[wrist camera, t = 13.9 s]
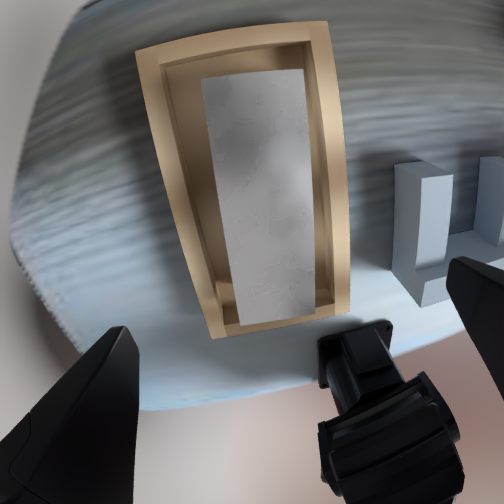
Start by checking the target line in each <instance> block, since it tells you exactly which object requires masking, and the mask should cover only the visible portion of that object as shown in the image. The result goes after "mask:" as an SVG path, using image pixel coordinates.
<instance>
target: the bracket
mask: <svg viewBox="0 0 504 504" xmlns="http://www.w3.org/2000/svg"><path fill="white" fill-rule="evenodd" d="M394 171H395V207H394V237H393V255H392V268H391V272H392V273H393V274H394V275H395V277H396V278H397V279H398V280H399V281H400V283H401V284H402V285H403V286H404V288H405V289H406V290H407V291H408V293H409V294H410V295H411V297H412V298H413V299H414V300H415V302H416V303H417V304H418V305H419V307H420V308H422V307H425V306H428V305H432V304H435V303H438V302H441V301H444V300H447V299H450V296H449V294H448V292H447V289H446V278H447V273H448V267H449V262H450V260H451V259H452V258H455V257H459V256H465V257H468V258H471V259H474V260H477V261H480V262H483V263H485V264H488V265H491V266H494V267H497V268H499V269H502V270H504V158H502V157H500V156H488V157H480V167H479V182H478V194H477V203H476V212H475V220H474V227H473V230H469V231H464V232H460V233H456V234H451V235H448V231H449V223H450V213H451V202H452V188H453V174H451V173H449V172H447V171H445V170H442V169H440V168H438V167H436V166H434V165H432V164H429V163H427V162H425V161H420V162H410V163H400V164H394Z"/></svg>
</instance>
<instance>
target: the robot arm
mask: <svg viewBox="0 0 504 504" xmlns="http://www.w3.org/2000/svg"><path fill="white" fill-rule="evenodd" d="M446 289H447V292H448V294H449V296H450V298H451V300H452V302H453V304H454V306H455V308H456V310H457V312H458V314H459V316H460V318H461V320H462V322H463V324H464V326H465V328H466V330H467V332H468V334H469V336H470V337H471V339H472V341H473V342H474V344H475V346H476V348H477V350H478V351H479V353H480V355H481V357H482V359H483V361H484V362H485V364H486V366H487V368H488V370H489V372H490V374H491V376H492V378H493V380H494V382H495V384H496V386H497V388H498V390H499V392H500V394H501V396H502V398H503V400H504V270H502V269H499V268H497V267H494V266H491V265H488V264H485V263H483V262H480V261H477V260H474V259H471V258H468V257H465V256H459V257H455V258H452V259H451V260H450V262H449V267H448V273H447V278H446ZM392 331H393V325H392V323H391V322H390V321H385V322H381V323H378V324H374V325H371V326H367V327H363V328H359V329H355V330H351V331H347V332H343V333H339V334H335V335H331V336H327V337H323V338H320V339H319V340H318V342H317V352H318V384H319V387H320V388H321V389H325V388H329V387H330V389H331V392H332V395H333V398H334V402H335V405H336V408H337V411H338V414H339V416H337V417H335V418H333V419H330V420H328V421H326V422H325V421H323V422H321V423H318V430H319V432H318V441H319V450H320V459H321V479H322V481H323V482H325V483H327V484H329V486H330V487H331V489H332V491H333V492H334V493H335V495H336V496H338V497H341V496H343V497H344V500H345V502H346V504H454V503H455V499H456V496H457V494H459V493H461V492H462V490H463V484H464V478H465V475H464V472H463V466H462V463H461V460H460V458H459V455H458V452H457V449H456V447H455V444H454V443H456V442H457V441H459V440H460V433H459V429H458V426H457V423H456V421H455V419H454V416H453V414H452V412H451V410H450V408H449V407H448V405H447V403H446V402H445V400H444V399H443V397H442V396H441V395H440V393H439V392H438V391H437V389H436V387H435V386H434V385H433V383H432V382H431V380H430V379H429V378H428V376H427V375H426V373H425V372H424V371H422V372H420V373H419V374H417V376H416V377H414V378H412V379H411V380H409V381H407V382H405V380H404V378H403V376H402V374H401V372H400V371H399V369H398V367H397V365H396V363H395V361H394V359H393V358H392V356H391V354H390V352H389V348H390V342H391V337H392ZM323 343H324V344H323ZM139 357H140V356H139V350H138V347H137V345H136V343H135V341H134V339H133V338H132V336H131V334H130V332H129V330H128V328H127V327H125V326H116V327H111V328H110V329H109V330H108V331H107V332H106V333H105V334H104V335H103V336H102V337H101V338H100V339H99V340H98V341H97V342H96V343H95V344H94V345H93V346H92V347H91V348H90V349H89V350H88V351H87V352H86V353H85V354H84V355H83V356H82V357H81V358H80V359H79V360H78V361H77V362H76V363H75V364H74V365H73V366H72V367H71V368H70V369H69V370H68V371H67V372H66V373H65V374H64V375H63V376H62V377H61V378H60V379H59V380H58V381H57V382H56V384H55V385H54V386H53V387H52V388H51V389H50V390H49V391H48V392H47V393H46V394H45V395H44V396H43V397H42V398H41V399H40V400H39V402H38V403H37V404H36V405H35V406H34V407H33V408H32V409H31V410H30V412H28V413H27V414H26V415H25V417H24V418H23V419H22V420H21V421H20V422H19V423H18V424H17V425H16V426H15V427H14V428H13V430H11V432H10V433H9V434H8V435H6V437H4V439H2V440H1V441H0V504H133V488H134V465H135V448H136V435H137V424H138V412H139Z"/></svg>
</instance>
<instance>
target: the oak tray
mask: <svg viewBox="0 0 504 504" xmlns="http://www.w3.org/2000/svg"><path fill="white" fill-rule="evenodd" d="M135 55H136V60H137V66H138V71H139V76H140V81H141V86H142V91H143V96H144V100H145V105H146V109H147V114H148V118H149V123H150V127H151V132H152V136H153V140H154V144H155V148H156V153H157V157H158V161H159V165H160V169H161V173H162V176H163V180H164V184H165V188H166V192H167V195H168V199H169V203H170V206H171V210H172V214H173V217H174V221H175V224H176V228H177V231H178V235H179V238H180V242H181V245H182V248H183V252H184V255H185V258H186V262H187V265H188V268H189V271H190V275H191V278H192V281H193V284H194V287H195V291H196V294H197V297H198V300H199V303H200V306H201V309H202V312H203V315H204V318H205V321H206V324H207V327H208V330H209V333H210V336H211V338H212V339H218V338H224V337H230V336H236V335H242V334H247V333H253V332H258V331H264V330H269V329H274V328H279V327H284V326H289V325H294V324H299V323H303V322H308V321H313V320H317V319H322V318H326V317H331V316H335V315H339V314H343V313H347V312H350V227H349V202H348V183H347V168H346V155H345V144H344V133H343V124H342V115H341V106H340V98H339V90H338V83H337V76H336V69H335V63H334V57H333V51H332V45H331V39H330V34H329V28H328V23H327V21H309V22H289V23H276V24H266V25H257V26H249V27H241V28H234V29H228V30H222V31H216V32H211V33H206V34H201V35H196V36H191V37H187V38H182V39H178V40H174V41H170V42H166V43H162V44H159V45H155V46H151V47H148V48H145V49H141V50H138V51H135ZM291 69H303V73H304V83H305V93H306V104H307V115H308V127H309V140H310V155H311V171H312V190H313V213H314V245H315V314H312V315H307V316H301V317H295V318H289V319H283V320H276V321H270V322H263V323H257V324H250V325H243V326H240V321H239V315H238V310H237V304H236V299H235V293H234V288H233V282H232V276H231V271H230V265H229V259H228V253H227V247H226V242H225V236H224V230H223V224H222V218H221V212H220V205H219V199H218V193H217V187H216V180H215V174H214V168H213V161H212V155H211V148H210V141H209V135H208V128H207V121H206V114H205V107H204V100H203V93H202V86H201V79H205V78H211V77H218V76H225V75H233V74H241V73H251V72H262V71H274V70H291Z"/></svg>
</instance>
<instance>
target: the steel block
mask: <svg viewBox="0 0 504 504" xmlns="http://www.w3.org/2000/svg"><path fill="white" fill-rule="evenodd" d="M201 86H202V93H203V100H204V107H205V114H206V121H207V128H208V135H209V141H210V148H211V155H212V161H213V168H214V174H215V180H216V187H217V193H218V199H219V205H220V212H221V218H222V224H223V230H224V236H225V242H226V247H227V253H228V259H229V265H230V271H231V276H232V282H233V288H234V293H235V299H236V304H237V310H238V315H239V321H240V326H243V325H250V324H257V323H263V322H270V321H276V320H283V319H289V318H295V317H301V316H307V315H312V314H315V245H314V213H313V190H312V171H311V155H310V140H309V127H308V115H307V104H306V93H305V83H304V73H303V69H291V70H274V71H262V72H251V73H241V74H233V75H225V76H218V77H211V78H205V79H201Z"/></svg>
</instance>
